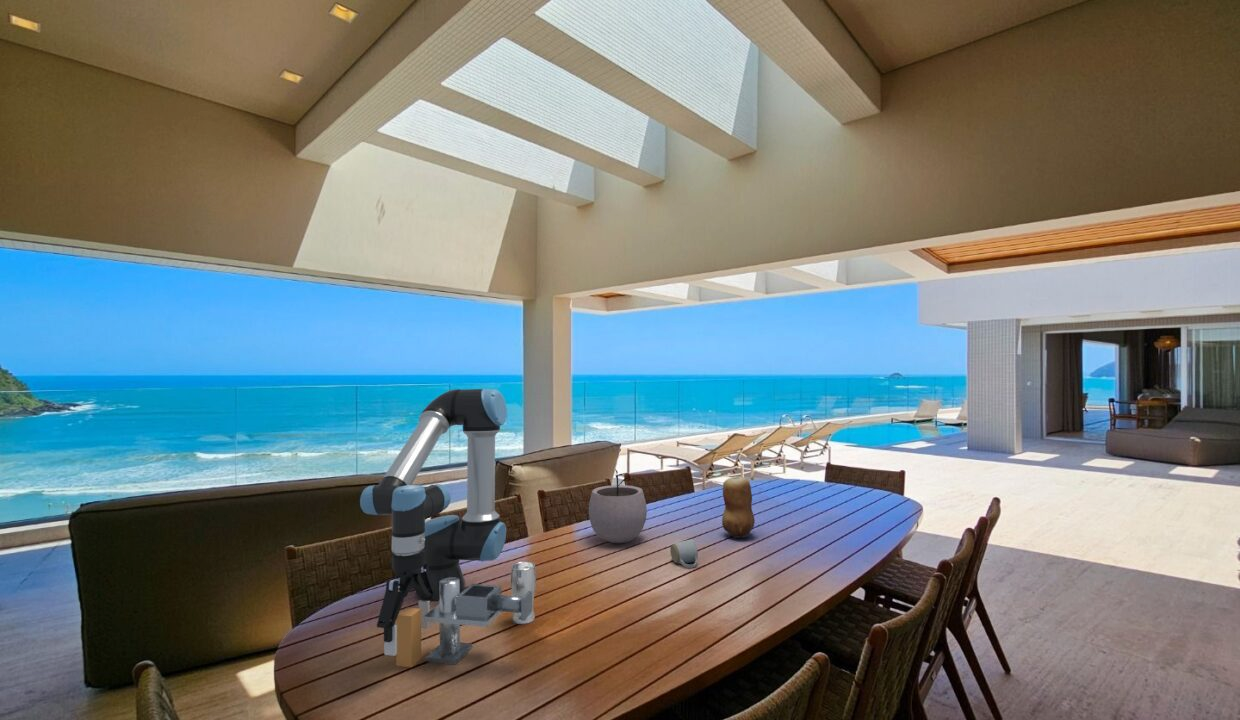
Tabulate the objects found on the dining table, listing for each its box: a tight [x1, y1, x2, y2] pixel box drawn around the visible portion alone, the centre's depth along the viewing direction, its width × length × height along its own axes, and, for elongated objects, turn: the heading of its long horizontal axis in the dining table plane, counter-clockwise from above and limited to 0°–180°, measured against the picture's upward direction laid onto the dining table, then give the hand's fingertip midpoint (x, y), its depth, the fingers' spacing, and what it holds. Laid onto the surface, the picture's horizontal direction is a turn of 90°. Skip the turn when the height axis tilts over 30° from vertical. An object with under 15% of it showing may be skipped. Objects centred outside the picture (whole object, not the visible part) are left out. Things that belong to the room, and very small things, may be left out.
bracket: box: [456, 583, 532, 621], centre depth 129 cm, size 17×8×5 cm, turn 78°
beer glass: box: [510, 561, 537, 625], centre depth 150 cm, size 7×7×15 cm
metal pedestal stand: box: [424, 577, 502, 665], centre depth 131 cm, size 16×10×18 cm, turn 78°
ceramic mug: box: [670, 539, 699, 569], centre depth 192 cm, size 11×8×8 cm
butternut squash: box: [721, 476, 755, 539], centre depth 222 cm, size 14×13×25 cm
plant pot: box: [588, 468, 648, 544], centre depth 219 cm, size 24×24×30 cm
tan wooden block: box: [395, 607, 422, 668], centre depth 128 cm, size 4×4×12 cm
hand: (408, 640), depth 128 cm, fingers open, 13 cm apart
